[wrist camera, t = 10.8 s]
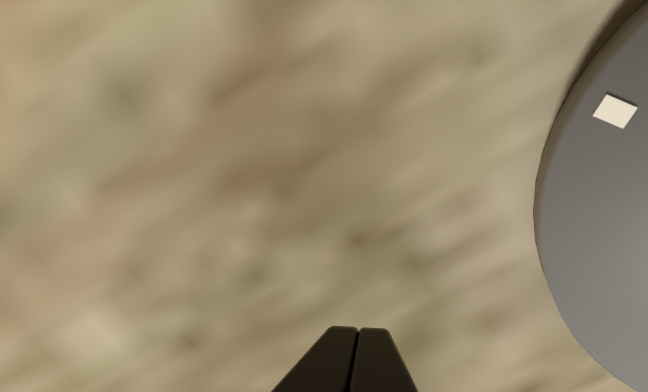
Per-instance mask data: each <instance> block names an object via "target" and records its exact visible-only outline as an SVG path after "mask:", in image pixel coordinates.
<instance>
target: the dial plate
mask: <svg viewBox="0 0 648 392" xmlns="http://www.w3.org/2000/svg"><path fill="white" fill-rule="evenodd" d="M533 218H534V232H535V242H536V246H537V251H538V255H539V259H540V263H541V267H542V270H543V272H544V275H545V278H546V280H547V283H548V286H549V288H550V291H551V293H552V296H553V298H554V300H555V303H556V305H557V308H558V310H559V312H560V315H561V317H562V318H563V320H564V321H565V323H566V325H567V326H568V328H569V329H570V331H571V332H572V334H573V336H574V337H575V339H576V340H577V341H578V342H579V343H580V344H581V346H582V347H583V348H584V349H585V350H586V351H587V352H588V354H589V355H590V356H591V357H592V358H593V359H594V360H595V361H596V362H597V363H599V364H600V365H601V366H602V367H603V368H604V369H606V370H607V371H608V372H609V373H610V374H612V375H613V376H614V377H615V378H617V379H618V380H620V381H621V382H623V383H625V384H626V385H628V386H629V387H631V388H632V389H634V390H636V391H637V392H648V0H647V1H646V2H645V3H644V4H643V5H642V6H641V7H640V8H639V9H637V10H636V11H635V12H634V13H633V14H632V15H631V16H630V17H629V18H627V19H626V20H625V22H624V23H623V24H622V25H621V26H620V27H619V28H618V29H617V31H616V32H615V33H614V34H613V35H612V36H611V37H610V38H609V40H608V41H607V42H606V43H605V44H604V45H603V46H602V47H601V49H600V50H599V51H598V52H597V53H596V55H595V56H594V57H593V59H592V60H591V62H590V63H589V64H588V66H587V67H586V69H585V70H584V72H583V73H582V74H581V76H580V77H579V79H578V80H577V81H576V83H575V84H574V86H573V87H572V89H571V91H570V93H569V95H568V97H567V99H566V100H565V102H564V104H563V106H562V108H561V110H560V112H559V113H558V115H557V117H556V119H555V121H554V124H553V127H552V129H551V132H550V134H549V137H548V140H547V142H546V145H545V147H544V150H543V153H542V157H541V162H540V166H539V170H538V175H537V179H536V184H535V196H534V208H533Z"/></svg>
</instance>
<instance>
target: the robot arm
mask: <svg viewBox="0 0 648 392" xmlns="http://www.w3.org/2000/svg"><path fill="white" fill-rule="evenodd" d="M271 392H418V390H417V388H416V386H415V384H414V382H413V380H412V378H411V375H410V373H409V371H408V369H407V367H406V365H405V363H404V361H403V359H402V357H401V355H400V353H399V351H398V349H397V347H396V345H395V343H394V341H393V339H392V337H391V335H390V333H389V331H388V330H386V329H383V328H361V329H360V331H358V329H357V328H356V327H346V326H332V327H330V328H328V329H327V330H326V332H325V333H324V334H323V335H322V336H321V337H320V338H319V339H318V340H317V342H316V343H315V344H314V345H313V346H312V347H311V348H310V349H309V350H308V351H307V353H306V354H305V355H304V356H303V357H302V358H301V359H300V360H299V361H298V363H297V364H296V365H295V366H294V367H293V368H292V369H291V370H290V371H289V372H288V374H287V375H286V376H285V377H284V378H283V379H282V380H281V381H280V382H279V383H278V385H277V386H276V387H275V388H274V389H273V390H272V391H271Z"/></svg>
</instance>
